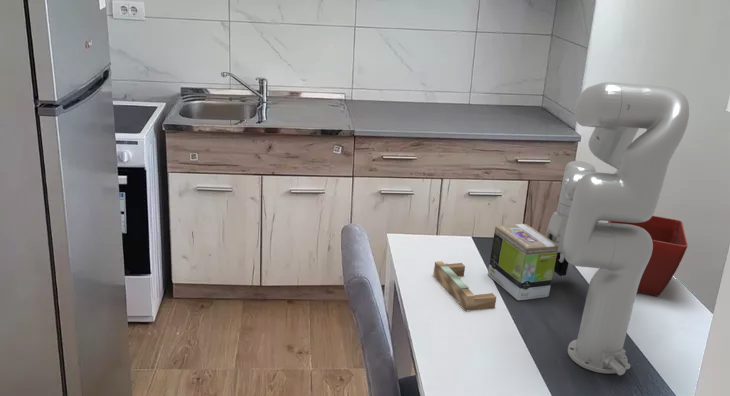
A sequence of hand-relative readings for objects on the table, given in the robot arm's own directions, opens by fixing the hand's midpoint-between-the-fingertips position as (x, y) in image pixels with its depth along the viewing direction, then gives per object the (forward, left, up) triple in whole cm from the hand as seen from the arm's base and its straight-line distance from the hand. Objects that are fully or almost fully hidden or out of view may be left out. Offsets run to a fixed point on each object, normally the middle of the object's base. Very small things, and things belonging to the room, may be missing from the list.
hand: (559, 273), depth 186 cm
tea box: (+1, +12, -3) cm, 12 cm away
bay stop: (+1, +28, -3) cm, 28 cm away
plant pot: (-3, -22, -3) cm, 23 cm away
